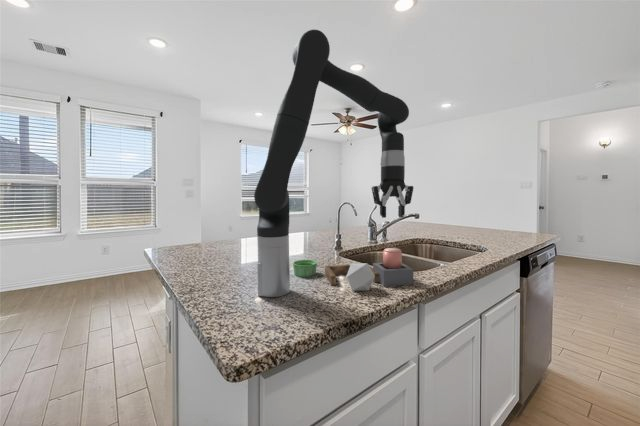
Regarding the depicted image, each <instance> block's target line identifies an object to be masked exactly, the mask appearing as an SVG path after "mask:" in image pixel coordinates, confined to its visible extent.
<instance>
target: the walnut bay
mask: <svg viewBox="0 0 640 426" xmlns="http://www.w3.org/2000/svg"><path fill="white" fill-rule="evenodd" d="M350 265H351V264H337V265H335V264H334V265H333V264H332V265H326V266H325V267H324V276H325V277H326V279H327V280H328V282H329V283H330V286H337V275H347V273H348V271H349V268H350ZM369 267H370V269H371V270H372V272H373V274H374V275H375V277H374V280H373V282H372V283H375V284H377V283H379V273H378V272H376V271H375V270H374V269H373V267H371V266H370V265H369ZM379 284H380V283H379Z"/></svg>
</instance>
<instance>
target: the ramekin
mask: <svg viewBox="0 0 640 426" xmlns="http://www.w3.org/2000/svg"><path fill="white" fill-rule="evenodd" d="M317 265H318V262H317V261H316V260H314V259H313V260H312V259H300V260H295V261H293V262H292V266H293V274H294V276H296V277H300V278H308V277H312V276H313V277H314V276H315V275H316V274H317Z"/></svg>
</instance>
